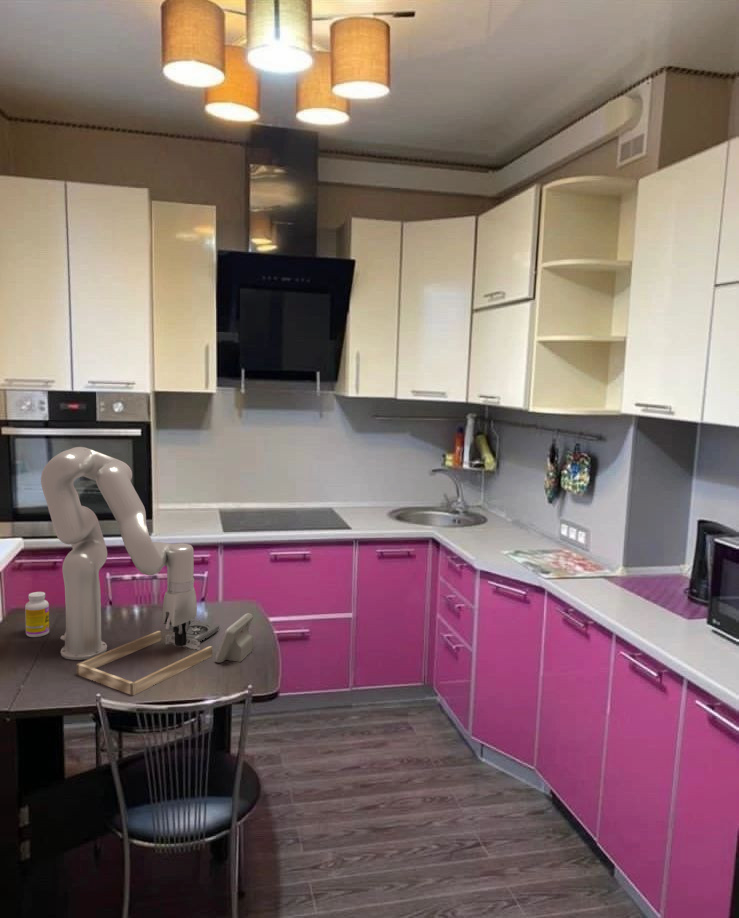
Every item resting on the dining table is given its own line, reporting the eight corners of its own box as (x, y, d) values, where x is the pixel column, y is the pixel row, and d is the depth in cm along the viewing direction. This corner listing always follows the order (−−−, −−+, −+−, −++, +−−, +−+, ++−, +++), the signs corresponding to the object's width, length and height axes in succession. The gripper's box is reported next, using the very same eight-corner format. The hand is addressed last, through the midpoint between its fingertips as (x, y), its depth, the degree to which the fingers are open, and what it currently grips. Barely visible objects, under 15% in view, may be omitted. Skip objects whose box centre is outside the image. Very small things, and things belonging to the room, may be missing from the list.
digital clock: (239, 642, 211) (239, 609, 209) (263, 648, 207) (264, 614, 205) (205, 661, 196) (206, 626, 195) (231, 668, 192) (231, 632, 191)
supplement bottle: (48, 636, 209) (47, 596, 208) (24, 639, 207) (23, 598, 205) (50, 628, 216) (49, 589, 214) (27, 631, 213) (26, 591, 211)
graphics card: (198, 642, 202) (164, 634, 206) (197, 654, 202) (164, 646, 206) (228, 624, 218) (196, 617, 222) (227, 635, 218) (196, 628, 222)
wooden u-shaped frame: (76, 674, 184) (76, 664, 184) (158, 639, 210) (158, 630, 210) (133, 695, 174) (132, 684, 173) (212, 656, 199) (212, 646, 199)
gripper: (189, 577, 209) (189, 634, 211) (152, 589, 196) (152, 650, 198) (207, 581, 205) (207, 639, 207) (170, 594, 192) (170, 656, 195)
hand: (180, 644), depth 203 cm, fingers closed
